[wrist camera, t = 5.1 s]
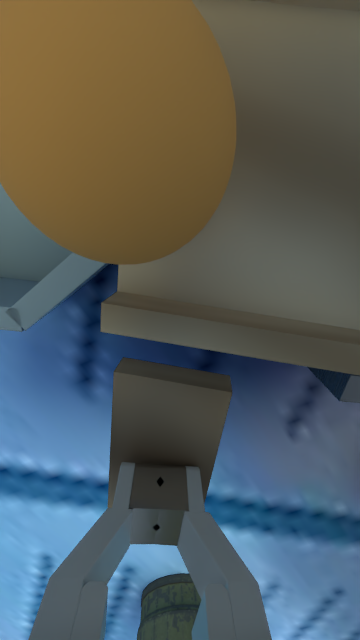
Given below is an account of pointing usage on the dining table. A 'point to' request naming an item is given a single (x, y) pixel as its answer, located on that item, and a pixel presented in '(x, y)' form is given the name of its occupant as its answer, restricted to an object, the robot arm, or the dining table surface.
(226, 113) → the ball
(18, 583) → the dining table surface
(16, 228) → the octagonal bowl
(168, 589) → the thermos
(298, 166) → the tipping board
